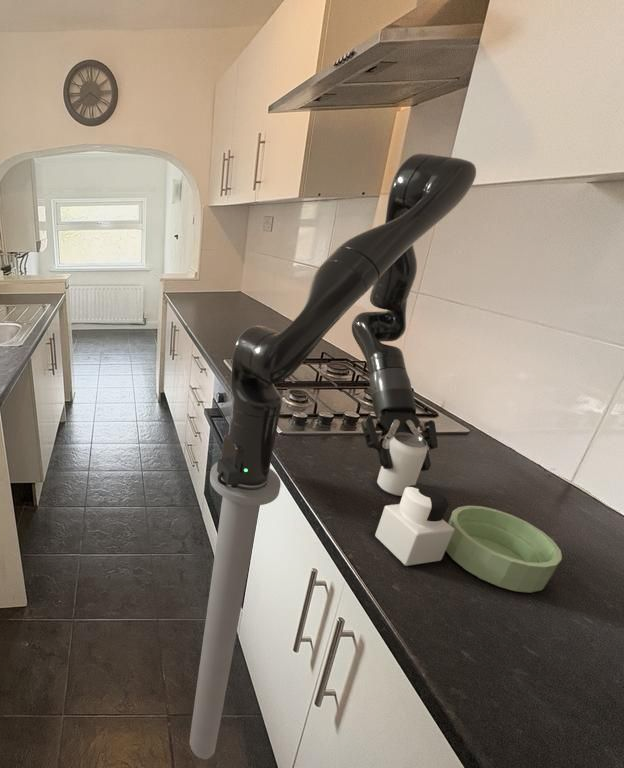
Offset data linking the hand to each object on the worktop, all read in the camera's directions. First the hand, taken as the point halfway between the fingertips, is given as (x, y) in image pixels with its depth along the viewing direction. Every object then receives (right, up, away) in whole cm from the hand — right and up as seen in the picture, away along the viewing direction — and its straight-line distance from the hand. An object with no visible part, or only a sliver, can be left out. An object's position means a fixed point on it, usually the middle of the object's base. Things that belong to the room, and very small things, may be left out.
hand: (406, 469), depth 84 cm
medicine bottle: (-8, -12, -12) cm, 18 cm away
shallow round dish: (+4, -13, -14) cm, 19 cm away
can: (0, -5, +4) cm, 6 cm away
